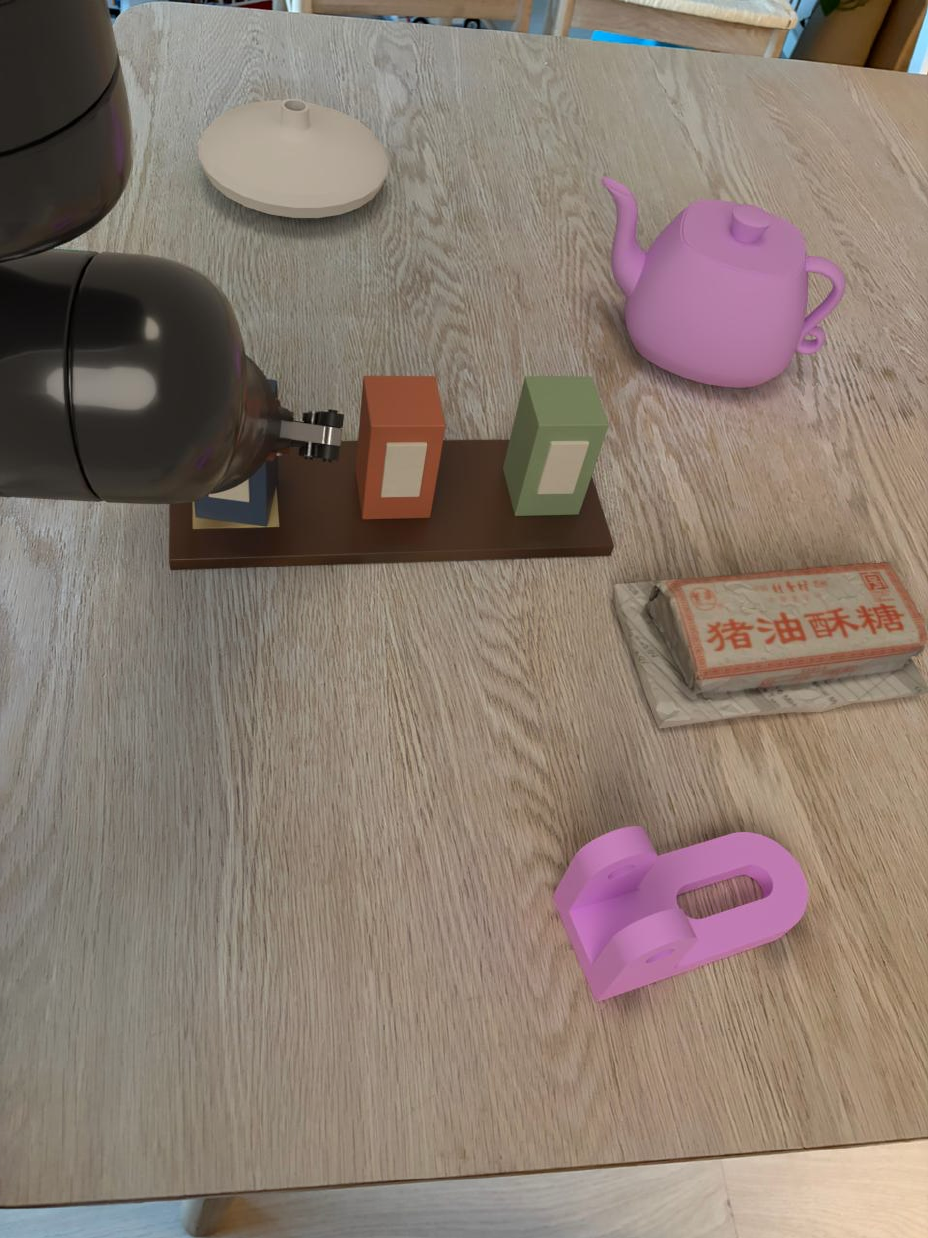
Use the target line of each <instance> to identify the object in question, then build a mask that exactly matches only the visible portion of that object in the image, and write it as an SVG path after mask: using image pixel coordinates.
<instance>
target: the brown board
mask: <svg viewBox="0 0 928 1238" xmlns="http://www.w3.org/2000/svg"><path fill="white" fill-rule="evenodd" d="M509 441H510V439H444V440H443V446H442V452H441V457H440V463H439V469H438V475H437V481H436V487H435V493H434V498H433V504H432V510H431V516H430V518H401V519H362V513H361V506H360V499H359V491H358V484H357V476H356V460H357V447H358V440H341V446H339V447H340V456H339V461H337V460H332V463H330V462H323V461H322V460H323V459H320V458H313V460H307V459H304V458H305V456H298V455H299V448H301V447H290V453H289V454H283V456H278V481H277V485H276V490H275V494H274V498H273V503H272V507H271V512H270V516H269V521H268V525H267V527H265V526H258V525H250V524H242V523H234V522H227V521H219V520H211V519H203V518H196V516H195V506H194V502H189V503H179V504H169V507H168V508H169V509H168V510H169V512H168V513H169V515H168V516H169V517H168V519H169V520H168V521H169V524H168V526H169V527H168V529H169V530H168V534H169V535H168V564H169V570H170V571H185V570H186V571H188V570H212V569H213V570H214V569H215V570H216V569H217V570H218V569H243V568H244V569H245V568H246V569H247V568H275V567H276V568H277V567H306V566H308V567H310V566H330V565H331V566H338V565H360V564H361V565H364V564H366V565H367V564H369V565H370V564H395V563H396V564H397V563H428V562H429V563H430V562H456V561H457V562H458V561H459V562H460V561H488V560H489V561H490V560H517V559H518V560H519V559H521V560H522V559H549V558H551V559H552V558H553V559H554V558H577V557H578V558H579V557H581V558H582V557H607V556H608V557H609V556H612V554H613V551H614V548H615V544H614V540H613V538H612V535H611V532H610V528H609V525H608V522H607V519H606V516H605V513H604V510H603V506H602V503H601V500H600V496H599V493H598V490H597V488H596V484H595V481H594V478H593V476H592V477H591V480H590V482H589V485H588V488H587V491H586V494H585V497H584V500H583V503H582V506H581V509H580V512H579V514H577V515H535V516H515V514H514V510H513V506H512V502H511V498H510V494H509V490H508V486H507V482H506V478H505V474H504V470H503V466H504V462H505V458H506V453H507V449H508V445H509Z"/></svg>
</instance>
